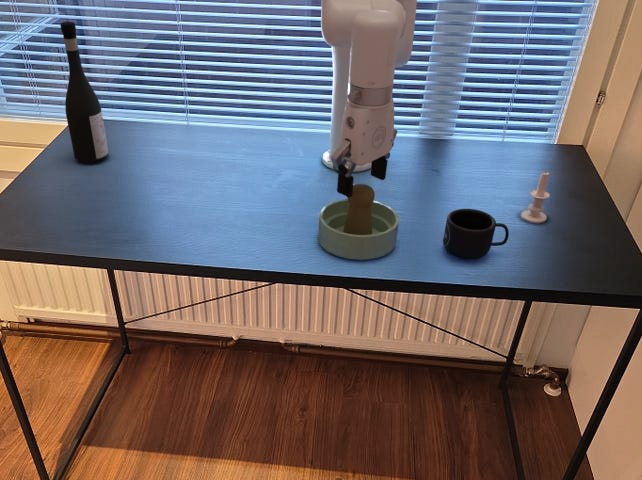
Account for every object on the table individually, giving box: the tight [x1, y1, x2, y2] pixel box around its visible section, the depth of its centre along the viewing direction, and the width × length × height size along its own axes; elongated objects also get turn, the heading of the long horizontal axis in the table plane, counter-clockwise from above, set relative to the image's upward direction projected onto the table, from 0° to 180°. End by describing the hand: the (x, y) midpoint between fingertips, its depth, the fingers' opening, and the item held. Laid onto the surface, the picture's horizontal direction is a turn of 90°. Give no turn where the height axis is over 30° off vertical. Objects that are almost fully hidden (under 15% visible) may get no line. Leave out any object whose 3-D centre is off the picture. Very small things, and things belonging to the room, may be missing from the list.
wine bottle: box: [60, 21, 109, 165], centre depth 150 cm, size 8×8×30 cm
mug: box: [442, 208, 510, 261], centre depth 126 cm, size 12×9×7 cm
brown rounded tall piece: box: [343, 183, 376, 235], centre depth 127 cm, size 6×6×11 cm
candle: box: [520, 171, 550, 225], centre depth 136 cm, size 5×5×10 cm
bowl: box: [317, 198, 400, 261], centre depth 129 cm, size 15×15×6 cm
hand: (361, 185), depth 124 cm, fingers open, 9 cm apart
